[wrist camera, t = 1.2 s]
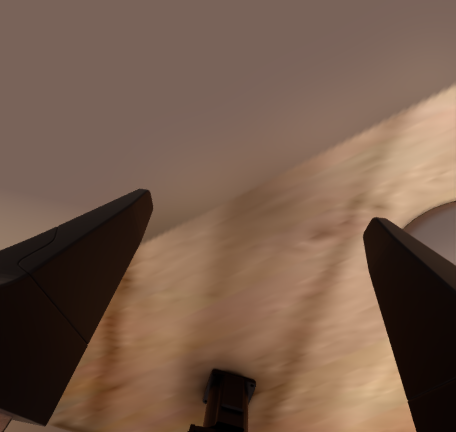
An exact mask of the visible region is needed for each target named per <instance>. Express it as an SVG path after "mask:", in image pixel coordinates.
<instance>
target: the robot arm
mask: <svg viewBox="0 0 456 432" xmlns="http://www.w3.org/2000/svg"><path fill="white" fill-rule="evenodd" d="M152 211H153V203H152V198H151V193H150V191H149V190H146V189H138V190H135V191H133V192H131V193H129V194H127V195H124V196H122V197H120V198H118V199H116V200H114V201H112V202H109V203H107V204H105V205H103V206H100V207H98V208H96V209H94V210H92V211H90V212H87V213H85V214H83V215H81V216H79V217H76V218H74V219H72V220H70V221H68V222H66V223H63V224H61V225H59V226H58V227H54V228H52V229H50V230H48V231H46V232H44V233H41V234H39V235H37V236H34V237H32V238H30V239H27V240H25V241H23V242H20V243H18V244H15V245H13V246H10V247H8V248H5V249H3V250H0V432H4V430H5V429H6V428H7V426H8V424H9V423H10V421H11V420H15V421H20V422H25V423H30V424H35V425H39V426H46V425H47V423H48V421H49V420H50V418H51V416H52V414H53V412H54V410H55V408H56V406H57V404H58V402H59V400H60V398H61V396H62V395H63V393H64V391H65V389H66V387H67V385H68V383H69V381H70V379H71V377H72V375H73V373H74V371H75V369H76V367H77V365H78V363H79V362H80V360H81V358H82V356H83V354H84V352H85V350H86V348H87V346H88V345H87V344H89V342H90V340H91V338H92V336H93V334H94V332H95V330H96V328H97V326H98V324H99V322H100V320H101V318H102V317H103V315H104V313H105V311H106V309H107V307H108V305H109V303H110V301H111V299H112V297H113V295H114V293H115V291H116V289H117V287H118V285H119V284H120V282H121V280H122V278H123V276H124V274H125V272H126V270H127V268H128V266H129V264H130V262H131V260H132V258H133V256H134V254H135V252H136V251H137V249H138V247H139V245H140V242H141V240H142V238H143V235H144V233H145V230H146V227H147V225H148V222H149V219H150V217H151V214H152ZM363 240H364V246H365V252H366V258H367V264H368V269H369V273H370V277H371V281H372V284H373V287H374V291H375V294H376V297H377V301H378V304H379V307H380V311H381V314H382V317H383V321H384V324H385V327H386V331H387V334H388V337H389V341H390V344H391V347H392V351H393V354H394V357H395V361H396V364H397V367H398V371H399V374H400V377H401V381H402V384H403V387H404V391H405V394H406V397H407V400H408V405H409V408H410V411H411V415H412V418H413V421H414V425H415V428H416V431H417V432H456V265H454V264H453V263H452V262H450V261H449V260H447V259H446V258H444V257H443V256H441V255H440V254H438V253H437V252H435V251H434V250H432V249H431V248H429V247H428V246H426V245H425V244H423V243H422V242H420V241H419V240H417V239H416V238H414V237H413V236H411V235H410V234H408V233H407V232H405V231H404V230H402V229H401V228H399V227H398V226H396V225H395V224H393V223H392V222H391V221H389V220H388V219H386V218H379V217H374V218H373V219H372V220H371V221H370V223H369V225H368V226H367V228H366V230H365V231H364V234H363ZM255 387H256V382H255V381H254V380H250V379H247V378H243V377H240V376H236V375H233V374H229V373H226V372H222V371H219V370H212V371H211V375H210V378H209V381H208V384H207V388H206V391H205V394H204V397H203V403H205V404H207V406H206V412H205V418H204V424H203V427H201V426H195V425H194V424H191V425H190V429H189V431H188V432H248V405H249V402H250V400H251V397H252V395H253V392H254V390H255Z"/></svg>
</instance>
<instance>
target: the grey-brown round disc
mask: <svg viewBox="0 0 456 432" xmlns="http://www.w3.org/2000/svg"><path fill="white" fill-rule="evenodd" d="M403 230H404V231H405V232H407V233H408V234H410V235H411V236H413V237H414V238H416V239H417V240H419V241H420V242H422V243H423V244H425V245H426V246H428V247H429V248H431V249H432V250H434V251H435V252H437V253H438V254H440V255H441V256H443V257H444V258H446V259H447V260H449V261H450V262H452V263H453V264H454V265H456V201H455V202H451V203H447V204H444V205H441V206H439V207H436V208H433V209H431V210H429V211H427V212H426V213H424V214H422V215H420V216H419V217H417V218H416V219H414V220H413V221H412V222H411V223H409V224H408V225H407V226H406V227H405V228H404V229H403Z"/></svg>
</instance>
